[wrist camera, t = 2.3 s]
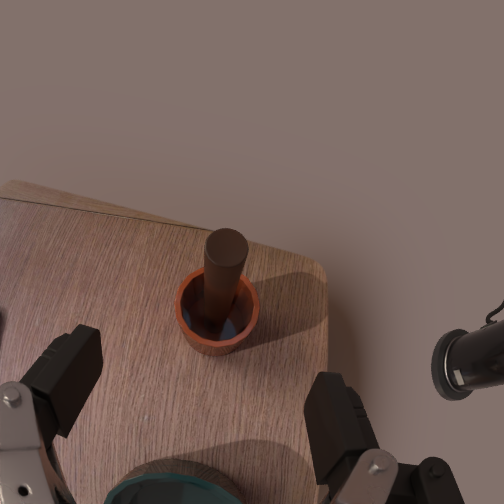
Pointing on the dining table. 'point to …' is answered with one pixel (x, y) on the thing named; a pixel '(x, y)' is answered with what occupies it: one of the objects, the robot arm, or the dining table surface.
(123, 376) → the dining table surface
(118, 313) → the dining table surface
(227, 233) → the stirring stick
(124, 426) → the dining table surface
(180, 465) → the mixing bowl
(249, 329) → the utensil cup
